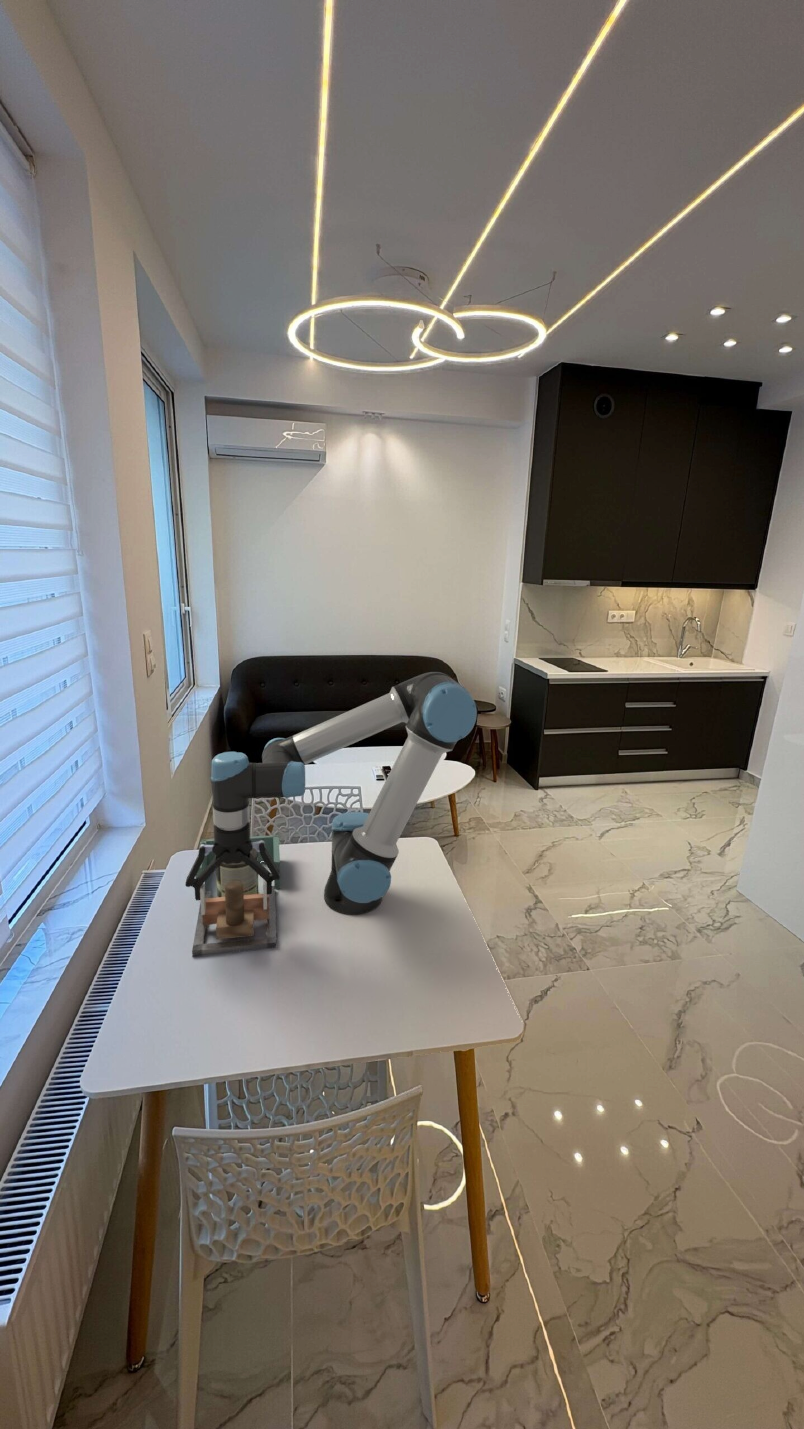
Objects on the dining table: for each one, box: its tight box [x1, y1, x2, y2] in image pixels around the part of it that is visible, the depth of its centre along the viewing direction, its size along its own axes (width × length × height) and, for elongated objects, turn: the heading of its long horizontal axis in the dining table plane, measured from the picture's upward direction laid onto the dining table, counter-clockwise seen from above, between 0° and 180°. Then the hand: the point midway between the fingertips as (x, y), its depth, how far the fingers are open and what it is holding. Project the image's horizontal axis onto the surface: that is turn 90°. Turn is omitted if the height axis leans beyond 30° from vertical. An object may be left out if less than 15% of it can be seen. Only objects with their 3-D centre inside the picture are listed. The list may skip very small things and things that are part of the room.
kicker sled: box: [202, 881, 269, 940], centre depth 134 cm, size 15×7×12 cm, turn 103°
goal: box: [195, 834, 281, 890], centre depth 158 cm, size 21×15×8 cm
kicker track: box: [191, 885, 277, 958], centre depth 141 cm, size 18×23×2 cm
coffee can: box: [215, 848, 260, 897], centre depth 146 cm, size 10×10×14 cm
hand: (234, 908), depth 132 cm, fingers open, 13 cm apart
